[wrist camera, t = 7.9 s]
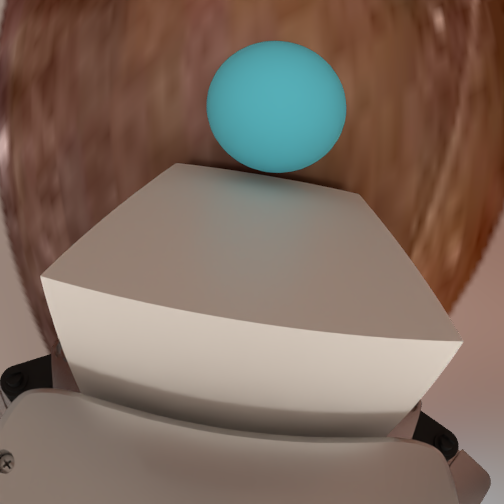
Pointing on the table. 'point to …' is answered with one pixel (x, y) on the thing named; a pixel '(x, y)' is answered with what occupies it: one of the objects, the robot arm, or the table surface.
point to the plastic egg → (276, 106)
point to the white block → (249, 308)
